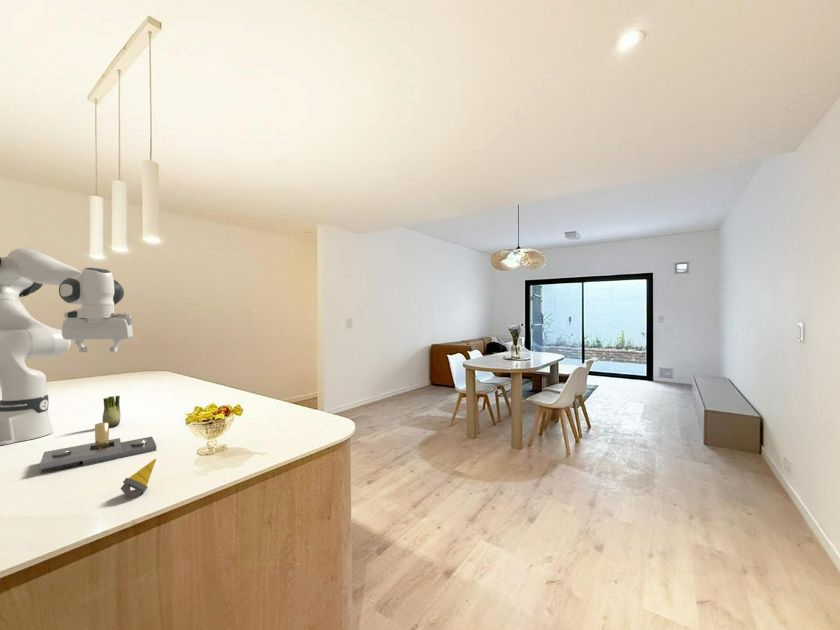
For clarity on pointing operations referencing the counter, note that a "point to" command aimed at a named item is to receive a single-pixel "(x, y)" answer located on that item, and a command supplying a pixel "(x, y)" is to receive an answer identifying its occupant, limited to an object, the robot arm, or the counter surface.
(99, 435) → the brass pin
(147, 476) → the yellow pointed cone
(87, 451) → the gray mounting plate
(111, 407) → the fennel bulb
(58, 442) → the counter surface
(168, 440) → the counter surface
